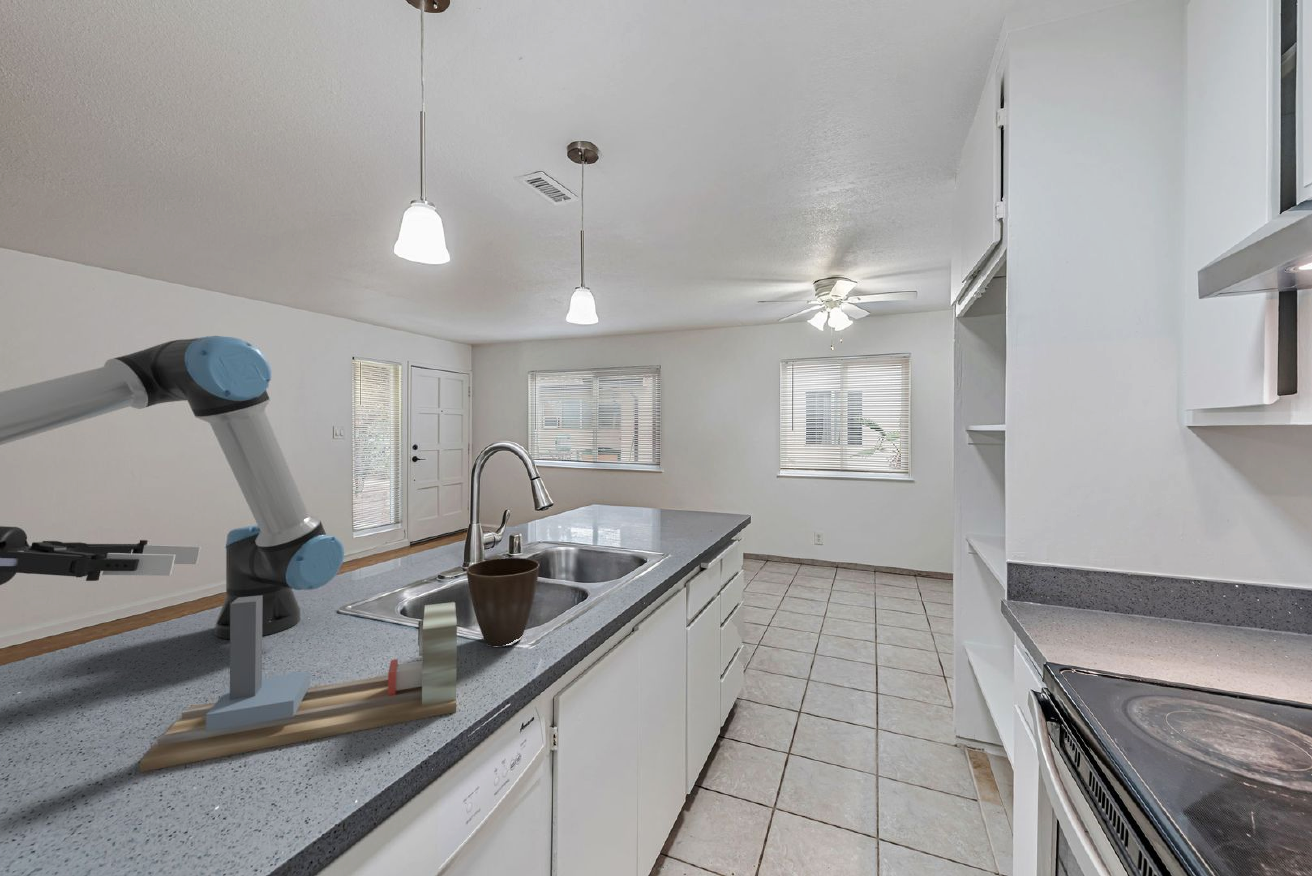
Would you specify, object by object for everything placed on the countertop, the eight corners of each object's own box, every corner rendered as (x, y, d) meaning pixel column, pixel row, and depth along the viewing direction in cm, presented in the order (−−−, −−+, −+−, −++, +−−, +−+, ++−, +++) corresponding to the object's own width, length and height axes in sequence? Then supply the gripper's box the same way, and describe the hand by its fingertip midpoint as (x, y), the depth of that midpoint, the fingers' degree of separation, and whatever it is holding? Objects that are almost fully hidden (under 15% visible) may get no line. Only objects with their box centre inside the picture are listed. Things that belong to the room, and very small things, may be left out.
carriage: (233, 696, 78) (234, 591, 78) (309, 685, 82) (310, 585, 82) (206, 732, 69) (207, 613, 69) (293, 716, 73) (294, 604, 73)
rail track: (189, 716, 78) (190, 629, 78) (454, 673, 93) (454, 600, 93) (140, 772, 65) (141, 668, 65) (456, 712, 80) (457, 627, 80)
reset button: (391, 683, 85) (391, 659, 85) (436, 676, 88) (436, 653, 87) (388, 698, 80) (388, 673, 80) (436, 689, 83) (436, 665, 83)
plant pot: (492, 662, 97) (493, 580, 97) (451, 642, 107) (452, 567, 107) (552, 639, 109) (553, 565, 109) (511, 622, 118) (512, 554, 118)
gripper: (14, 572, 74) (202, 574, 85) (-123, 603, 53) (151, 600, 63) (28, 521, 75) (212, 529, 86) (-100, 530, 54) (165, 540, 64)
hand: (187, 559), depth 75 cm, fingers open, 13 cm apart
